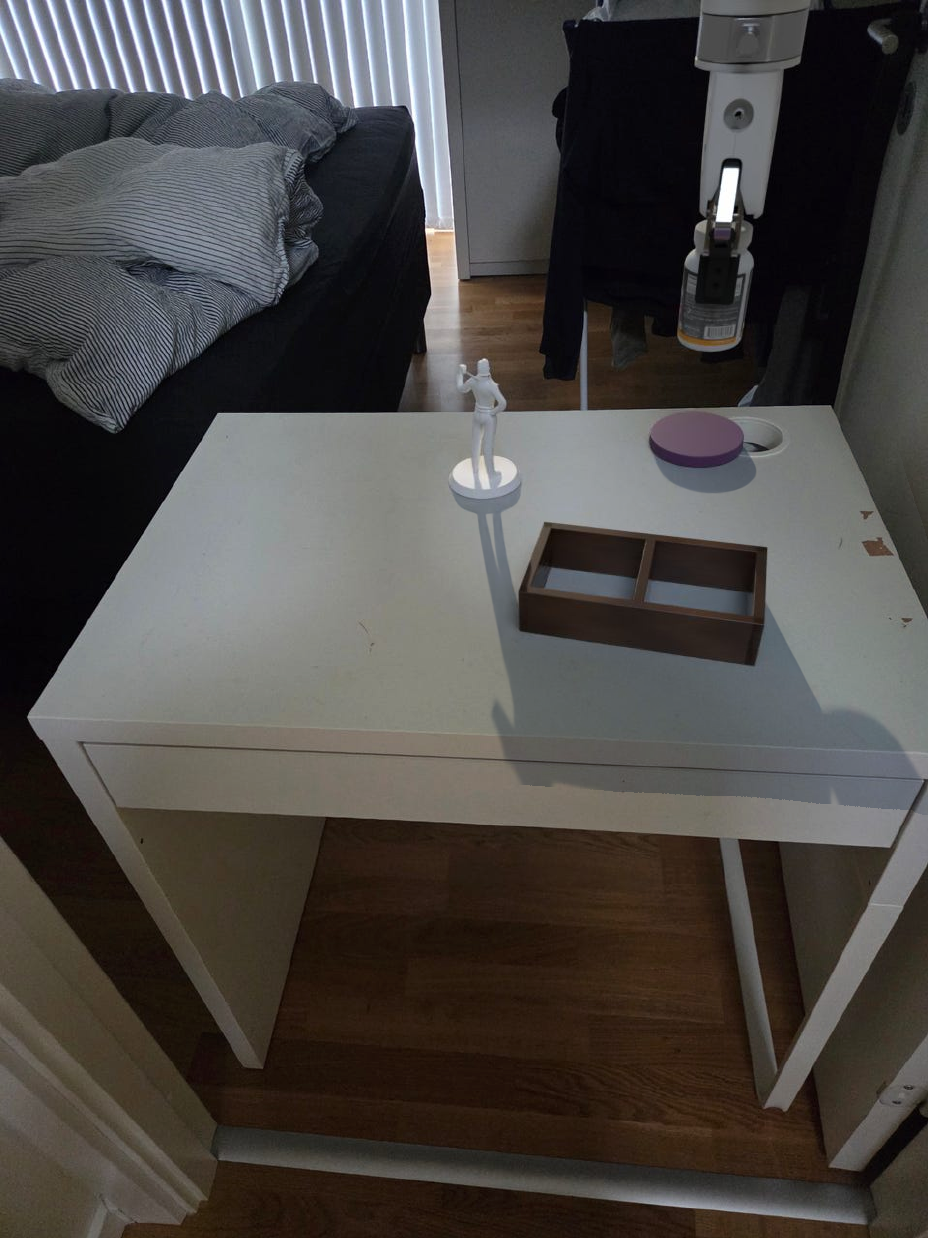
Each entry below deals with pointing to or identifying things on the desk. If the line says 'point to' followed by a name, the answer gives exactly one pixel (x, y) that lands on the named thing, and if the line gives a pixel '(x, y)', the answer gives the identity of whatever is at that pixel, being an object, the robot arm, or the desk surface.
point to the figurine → (485, 471)
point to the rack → (646, 592)
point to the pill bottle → (710, 321)
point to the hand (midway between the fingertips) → (716, 286)
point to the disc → (696, 439)
